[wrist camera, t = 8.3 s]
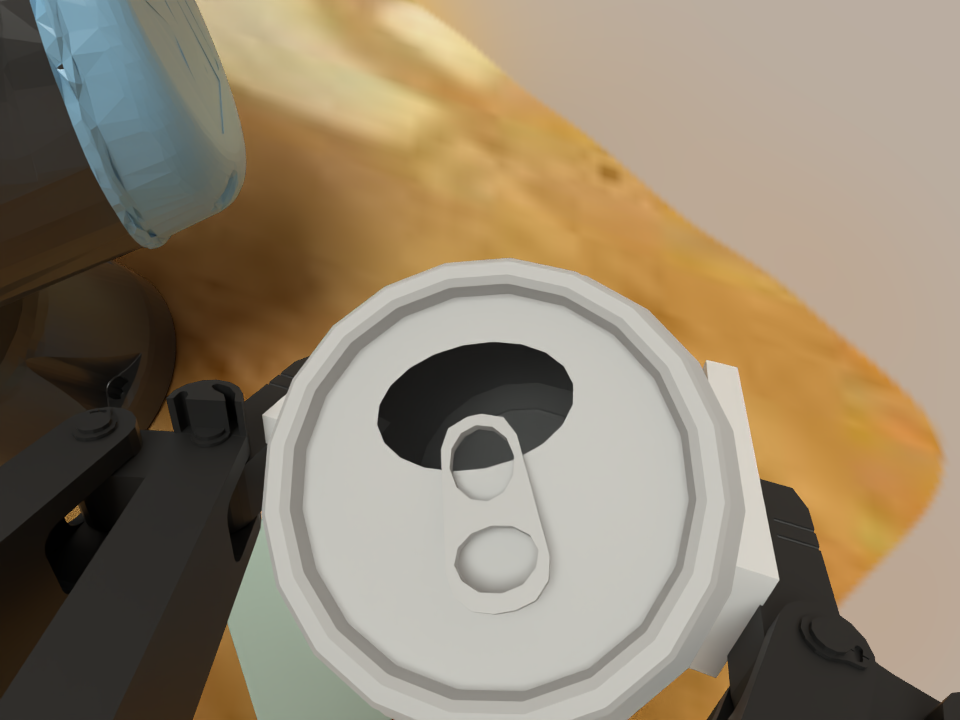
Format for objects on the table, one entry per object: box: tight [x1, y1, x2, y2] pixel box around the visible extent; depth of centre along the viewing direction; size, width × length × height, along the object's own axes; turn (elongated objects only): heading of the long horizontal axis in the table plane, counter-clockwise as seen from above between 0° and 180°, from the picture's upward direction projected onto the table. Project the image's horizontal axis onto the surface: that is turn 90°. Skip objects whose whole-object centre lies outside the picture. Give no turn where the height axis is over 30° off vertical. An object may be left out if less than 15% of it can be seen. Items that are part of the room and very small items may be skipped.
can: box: [261, 258, 746, 720], centre depth 13 cm, size 8×8×12 cm
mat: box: [227, 519, 392, 720], centre depth 28 cm, size 12×10×1 cm
